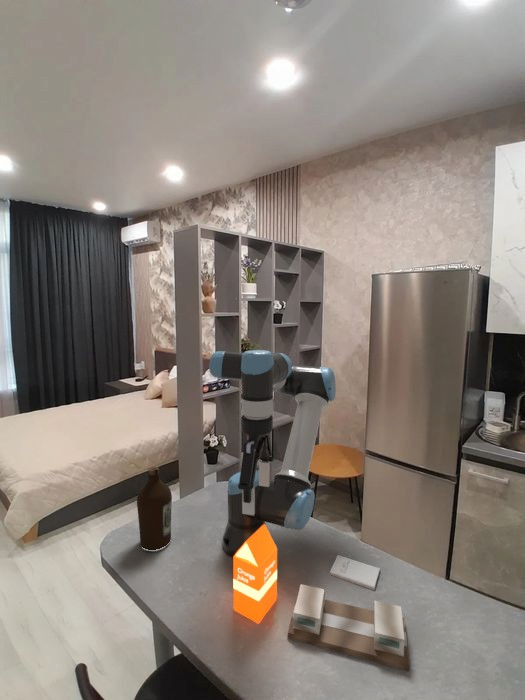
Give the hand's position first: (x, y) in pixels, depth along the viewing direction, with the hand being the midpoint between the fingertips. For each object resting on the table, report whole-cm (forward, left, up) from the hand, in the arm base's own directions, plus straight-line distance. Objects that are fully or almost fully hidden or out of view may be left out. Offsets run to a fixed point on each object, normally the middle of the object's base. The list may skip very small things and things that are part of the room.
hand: (256, 498), depth 89 cm
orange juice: (0, 0, -29) cm, 29 cm away
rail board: (+23, -1, -29) cm, 37 cm away
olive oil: (-38, +14, -29) cm, 50 cm away
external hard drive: (+24, +19, -29) cm, 42 cm away
